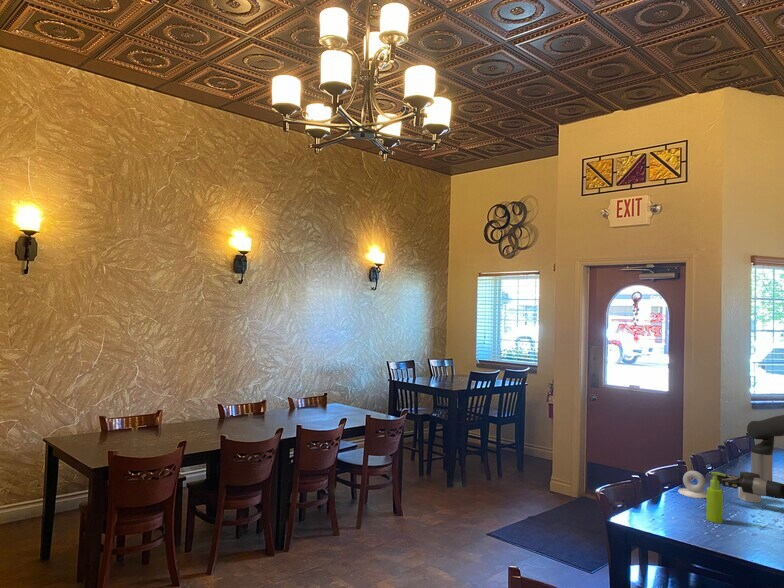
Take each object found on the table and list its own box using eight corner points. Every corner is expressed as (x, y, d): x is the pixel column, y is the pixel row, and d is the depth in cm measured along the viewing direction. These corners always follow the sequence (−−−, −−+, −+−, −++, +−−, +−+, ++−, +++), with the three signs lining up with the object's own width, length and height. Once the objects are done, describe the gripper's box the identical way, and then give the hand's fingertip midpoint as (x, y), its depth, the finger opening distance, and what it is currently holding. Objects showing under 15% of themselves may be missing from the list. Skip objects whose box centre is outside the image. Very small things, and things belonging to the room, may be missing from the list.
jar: (754, 504, 261) (754, 477, 262) (735, 498, 268) (736, 473, 268) (763, 501, 266) (764, 475, 267) (745, 496, 273) (745, 470, 273)
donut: (706, 493, 270) (706, 472, 271) (704, 495, 268) (704, 473, 268) (684, 488, 277) (684, 467, 278) (681, 490, 275) (682, 469, 275)
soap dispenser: (725, 525, 233) (725, 475, 233) (705, 521, 236) (706, 472, 237) (725, 520, 238) (726, 472, 238) (706, 517, 241) (707, 469, 242)
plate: (682, 488, 282) (682, 485, 282) (711, 494, 273) (712, 492, 273) (674, 493, 272) (674, 491, 272) (704, 500, 264) (704, 498, 264)
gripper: (758, 474, 261) (719, 467, 272) (752, 480, 251) (711, 472, 262) (758, 491, 261) (718, 483, 272) (751, 497, 251) (710, 489, 262)
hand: (715, 477), depth 267 cm, fingers open, 8 cm apart
